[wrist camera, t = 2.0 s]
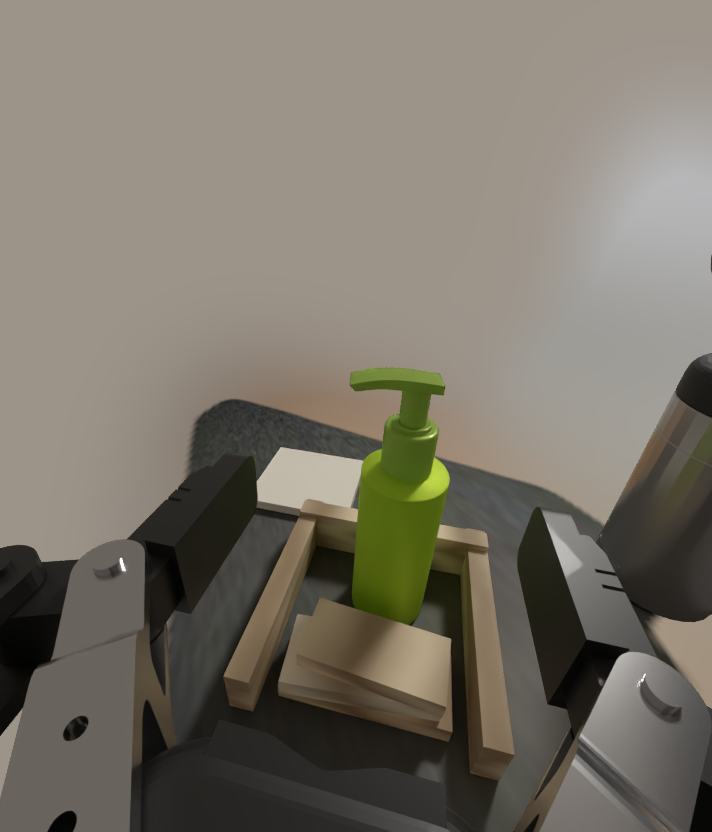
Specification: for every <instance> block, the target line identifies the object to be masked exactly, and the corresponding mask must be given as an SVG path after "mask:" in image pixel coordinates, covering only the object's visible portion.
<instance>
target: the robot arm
mask: <svg viewBox="0 0 712 832" xmlns="http://www.w3.org/2000/svg"><path fill="white" fill-rule="evenodd" d="M711 271H712V257H711ZM257 501H258V493H257V481H256V469H255V461H254V458H253V457H252V456H247V455H241V454H235V453H230V452H228V453H225V454H224V455H223V456H222V457H221V458H220V459H219V460H218V462H217V463H216V464H215V465H214V466H213V467H211V466H206V467H204V468H202V469H200V470H199V471H197V472H195V473H193V474H191V475H190V476H189V477H188V478H187V479H186V480H185V481H184V482H183V483H182V484H181V485H180V486H179V488H178V490H175V491H174V492H173V493H172V494H171V495H170V496H169V498H168V500H165V501H164V502H163V503H162V504H161V505H160V506H159V507H158V508H157V509H156V510H155V511H154V512H153V513H152V514H151V515H150V516H149V517H148V518H147V519H146V520H145V522H143V523H142V524H141V525H140V527H138V529H136V531H135V532H134V533H133V534H132V535H131V536H130V537H129V538H128V539H126V540H124V539H123V540H116V541H111V542H107V543H105V544H102V545H100V546H98V547H96V548H94V549H92V550H91V551H89V552H87V554H85V555H84V556H82V557H81V558H80V559H79V560H66V561H52V562H41V560H40V558H39V556H38V554H37V552H36V551H35V549H34V548H31V547H29V546H25V545H14V546H7V547H3V548H0V736H1V734H2V733H3V732H4V731H5V729H6V728H7V727H8V726H9V724H10V723H11V722H12V721H13V719H14V718H15V717H16V716H17V714H18V713H19V712H20V711H21V709H22V708H23V710H22V715H21V718H20V723H19V726H18V730H17V734H16V738H15V743H14V746H13V750H12V754H11V758H10V762H9V766H8V770H7V774H6V778H5V783H4V787H3V790H2V794H1V798H0V832H476V831H475V830H474V829H473V827H472V826H471V825H470V824H469V823H468V822H466V821H465V820H464V819H463V818H462V817H461V816H460V815H458V814H457V813H456V812H455V811H453V810H452V809H451V808H449V807H448V806H446V785H445V784H441V783H438V782H434V781H431V780H427V779H424V778H421V777H417V776H414V775H410V774H407V773H403V772H400V771H396V770H393V769H389V768H369V769H351V770H333V771H327V770H322V769H320V768H318V767H317V766H315V765H314V764H312V763H311V762H309V761H308V760H307V759H305V758H304V757H302V756H301V755H300V754H298V753H297V752H295V751H294V750H293V749H291V748H290V747H288V746H287V745H286V744H284V743H283V742H281V741H280V740H279V739H277V738H276V737H274V736H273V735H272V734H269V733H265V732H262V731H258V730H255V729H251V728H248V727H245V726H241V725H238V724H234V723H231V722H227V721H224V720H220V719H219V721H218V723H217V725H216V728H215V730H214V732H213V734H212V737H204V738H199V739H195V740H190V741H187V742H185V743H182V744H179V745H176V739H175V730H174V723H173V718H172V712H171V703H170V682H169V656H168V631H167V623H166V622H167V620H168V619H169V618H170V616H171V615H172V613H173V612H174V610H176V611H181V612H185V613H189V614H191V613H192V611H193V609H194V608H195V606H196V605H197V603H198V602H199V600H200V598H201V597H202V595H203V594H204V592H205V591H206V589H207V587H208V586H209V584H210V583H211V581H212V580H213V578H214V576H215V575H216V573H217V572H218V570H219V569H220V567H221V565H222V564H223V562H224V561H225V559H226V558H227V556H228V555H229V553H230V551H231V550H232V548H233V547H234V545H235V544H236V542H237V540H238V539H239V537H240V536H241V534H242V533H243V531H244V529H245V528H246V526H247V525H248V523H249V522H250V520H251V518H252V517H253V515H254V513H255V510H256V506H257ZM517 565H518V573H519V577H520V582H521V586H522V591H523V596H524V600H525V605H526V609H527V614H528V618H529V623H530V627H531V632H532V636H533V641H534V645H535V650H536V654H537V659H538V663H539V668H540V672H541V677H542V681H543V686H544V690H545V695H546V699H547V704H548V705H552V706H556V707H560V708H565V709H567V711H568V715H569V719H570V723H571V726H570V727H569V729H568V730H567V732H566V734H565V736H564V738H563V740H562V742H561V743H560V745H559V747H558V749H557V751H556V753H555V755H554V757H553V759H552V761H551V763H550V765H549V767H548V769H547V771H546V772H545V774H544V776H543V778H542V780H541V782H540V784H539V786H538V788H537V790H536V792H535V794H534V796H533V798H532V800H531V801H530V803H529V805H528V807H527V809H526V811H525V812H524V814H523V816H522V818H521V819H520V821H519V822H518V824H517V826H516V827H515V829H514V831H513V832H712V709H711V708H709V707H707V706H706V705H705V703H704V701H703V699H702V698H701V696H700V695H699V693H698V692H697V691H696V690H695V688H694V687H693V686H692V685H691V684H690V683H689V682H688V681H687V680H686V679H685V678H684V677H683V676H682V675H681V674H680V673H679V672H677V671H676V670H675V669H673V668H672V667H671V666H669V665H668V664H666V663H664V662H663V661H661V660H659V659H658V657H657V655H656V653H655V651H654V649H653V647H652V645H651V643H650V641H649V639H648V637H647V635H646V633H645V631H644V629H643V627H642V625H641V623H640V621H639V619H638V617H637V615H636V613H635V611H634V609H633V607H632V605H631V603H630V601H629V600H631V601H632V602H634V603H635V604H637V605H639V606H640V607H642V608H644V609H646V610H648V611H650V612H652V613H654V614H657V615H660V616H662V617H666V618H668V619H672V620H677V621H683V622H696V621H700V620H704V619H705V618H706V617H708V616H709V615H711V614H712V353H710V354H706V355H703V356H701V357H699V358H697V359H696V360H694V361H693V362H692V363H691V364H690V365H689V367H688V368H687V370H686V371H685V373H684V375H683V377H682V379H681V380H680V382H679V384H678V386H677V388H676V391H675V392H674V394H673V396H672V398H671V400H670V401H669V403H668V405H667V407H666V409H665V411H664V413H663V415H662V417H661V419H660V421H659V423H658V425H657V427H656V429H655V430H654V432H653V434H652V436H651V438H650V440H649V442H648V444H647V446H646V448H645V450H644V452H643V453H642V456H641V457H640V459H639V461H638V463H637V465H636V467H635V469H634V471H633V473H632V474H631V477H630V478H629V480H628V482H627V484H626V486H625V488H624V490H623V492H622V494H621V496H620V497H619V499H618V501H617V503H616V505H615V507H614V509H613V511H612V513H611V515H610V516H609V519H608V520H607V522H606V524H605V526H604V528H603V530H602V532H601V533H600V535H599V538H598V539H597V541H596V543H595V542H594V541H593V540H592V539H591V538H590V537H589V536H585V535H580V534H579V533H578V530H577V528H576V526H575V524H574V521H573V519H572V517H571V515H570V514H569V513H568V512H563V511H558V510H552V509H546V508H540V507H537V508H535V509H534V511H533V513H532V516H531V518H530V521H529V523H528V526H527V529H526V531H525V534H524V536H523V539H522V542H521V544H520V547H519V551H518V559H517Z"/></svg>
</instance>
